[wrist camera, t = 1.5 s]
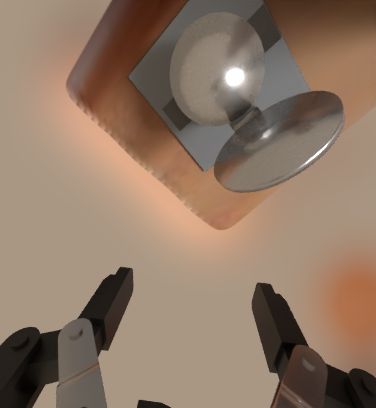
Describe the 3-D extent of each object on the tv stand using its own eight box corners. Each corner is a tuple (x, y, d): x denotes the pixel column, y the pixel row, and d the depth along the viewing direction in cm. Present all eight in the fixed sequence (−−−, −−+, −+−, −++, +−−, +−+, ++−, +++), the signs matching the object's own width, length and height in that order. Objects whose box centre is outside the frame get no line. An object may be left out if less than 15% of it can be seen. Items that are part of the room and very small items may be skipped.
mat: (233, -53, 25) (233, -56, 25) (310, 91, 31) (311, 91, 31) (129, 77, 34) (128, 77, 33) (205, 171, 40) (204, 171, 39)
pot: (236, 2, 27) (245, -42, 19) (282, 82, 31) (305, 73, 23) (158, 89, 33) (140, 83, 25) (203, 147, 37) (199, 158, 29)
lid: (390, 99, 12) (394, 128, 13) (289, 78, 23) (296, 95, 24) (221, 207, 17) (235, 221, 18) (204, 147, 28) (214, 158, 29)
